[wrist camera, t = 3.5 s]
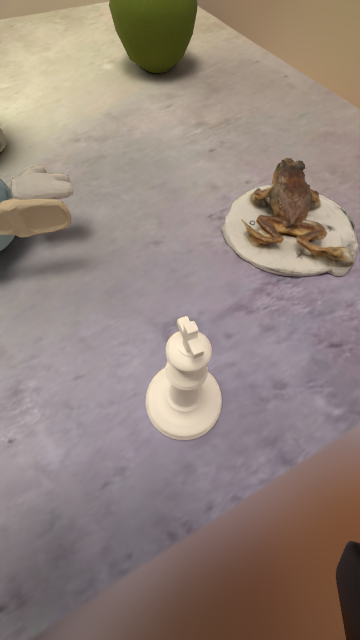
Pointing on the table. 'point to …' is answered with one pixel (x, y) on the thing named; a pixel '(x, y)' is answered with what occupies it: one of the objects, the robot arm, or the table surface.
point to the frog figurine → (291, 227)
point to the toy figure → (33, 204)
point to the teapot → (2, 140)
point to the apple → (154, 30)
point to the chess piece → (185, 387)
